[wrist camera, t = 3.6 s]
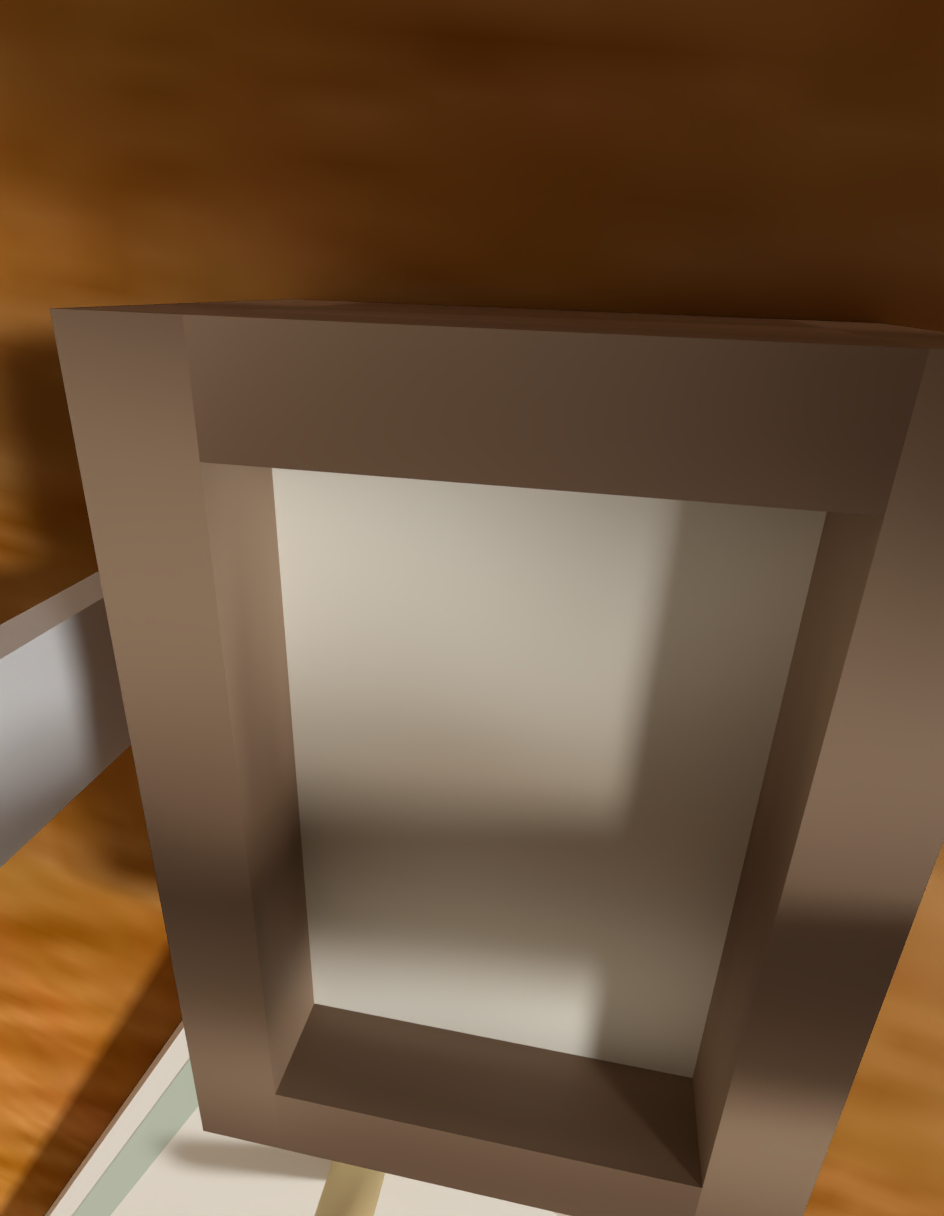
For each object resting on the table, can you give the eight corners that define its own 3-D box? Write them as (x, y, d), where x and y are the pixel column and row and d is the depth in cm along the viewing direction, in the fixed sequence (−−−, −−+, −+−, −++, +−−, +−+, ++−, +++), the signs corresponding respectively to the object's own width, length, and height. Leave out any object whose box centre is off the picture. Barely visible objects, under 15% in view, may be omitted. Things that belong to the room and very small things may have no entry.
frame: (292, 298, 11) (49, 308, 6) (882, 323, 9) (1123, 356, 5) (328, 879, 15) (203, 1130, 11) (731, 947, 14) (784, 1265, 9)
